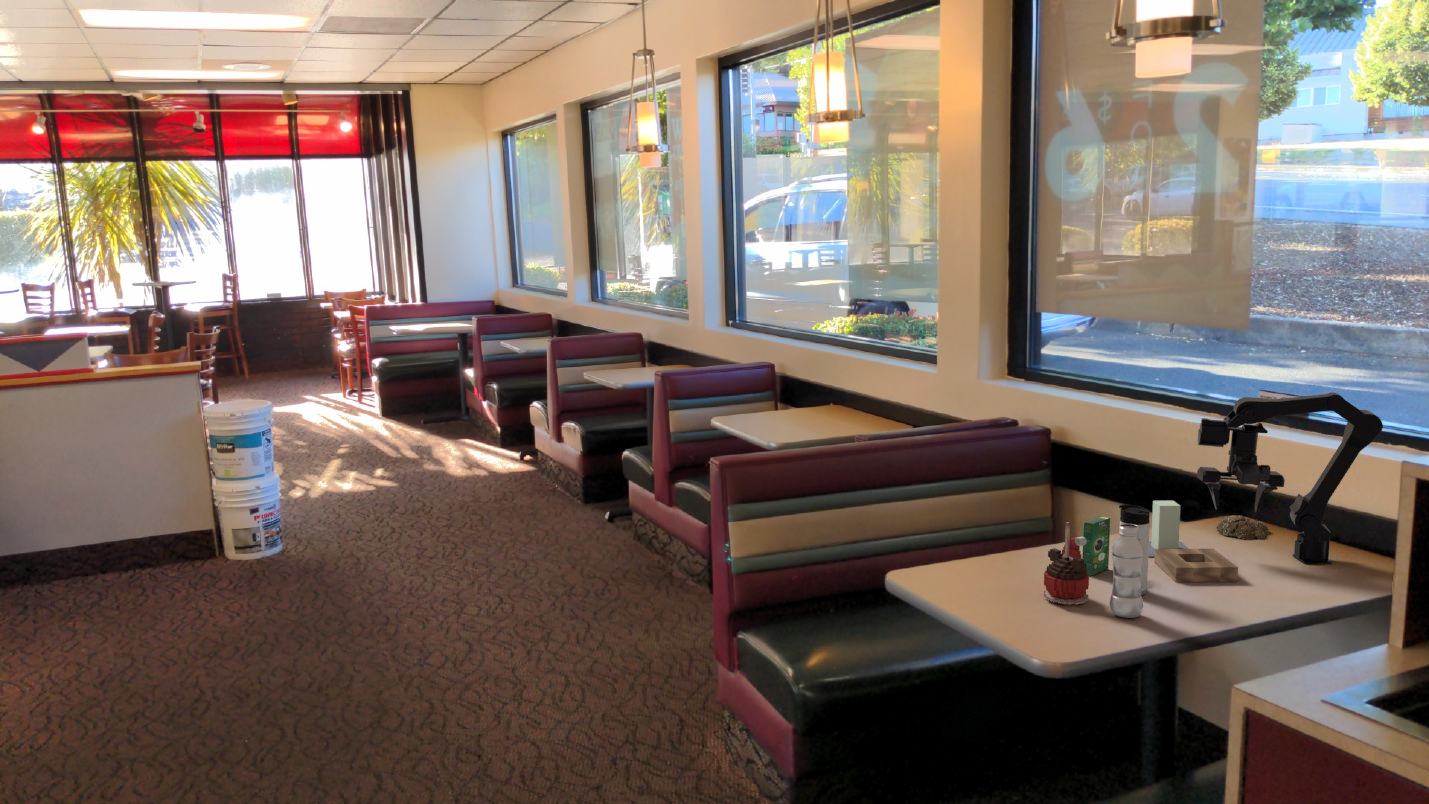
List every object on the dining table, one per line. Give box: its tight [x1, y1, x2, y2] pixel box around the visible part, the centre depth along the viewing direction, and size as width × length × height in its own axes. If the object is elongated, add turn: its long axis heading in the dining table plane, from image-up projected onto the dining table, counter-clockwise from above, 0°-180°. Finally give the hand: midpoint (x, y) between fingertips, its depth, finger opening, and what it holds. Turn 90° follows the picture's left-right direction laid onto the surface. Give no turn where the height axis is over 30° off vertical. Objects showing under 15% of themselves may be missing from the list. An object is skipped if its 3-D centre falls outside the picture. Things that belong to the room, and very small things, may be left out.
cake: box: [1043, 521, 1090, 605], centre depth 230 cm, size 11×9×18 cm
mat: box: [1148, 540, 1190, 559], centre depth 264 cm, size 12×12×1 cm
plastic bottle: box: [1109, 524, 1144, 619], centre depth 220 cm, size 6×7×20 cm
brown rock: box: [1216, 514, 1270, 541], centre depth 276 cm, size 13×12×5 cm
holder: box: [1154, 548, 1239, 583], centre depth 247 cm, size 14×14×4 cm
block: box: [1150, 500, 1181, 549], centre depth 263 cm, size 5×5×12 cm
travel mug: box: [1118, 503, 1151, 596], centre depth 234 cm, size 6×7×20 cm
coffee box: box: [1081, 515, 1111, 577], centre depth 249 cm, size 8×3×13 cm, turn 129°
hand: (1236, 510), depth 256 cm, fingers open, 9 cm apart
